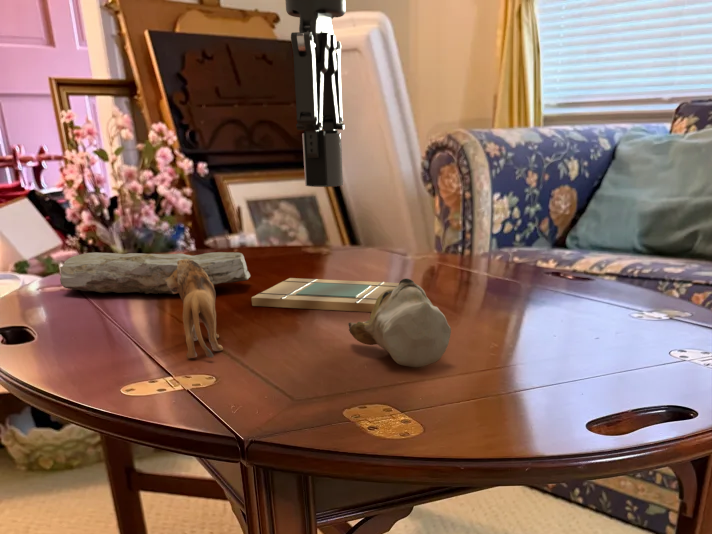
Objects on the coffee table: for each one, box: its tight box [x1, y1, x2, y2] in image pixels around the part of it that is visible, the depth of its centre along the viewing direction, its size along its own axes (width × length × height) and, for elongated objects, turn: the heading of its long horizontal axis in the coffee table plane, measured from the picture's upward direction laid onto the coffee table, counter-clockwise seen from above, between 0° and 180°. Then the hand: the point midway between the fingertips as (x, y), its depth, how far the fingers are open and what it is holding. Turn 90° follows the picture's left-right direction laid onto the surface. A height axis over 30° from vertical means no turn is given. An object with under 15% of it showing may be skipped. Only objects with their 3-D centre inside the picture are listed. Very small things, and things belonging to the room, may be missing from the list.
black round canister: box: [301, 132, 344, 188], centre depth 104 cm, size 5×5×6 cm
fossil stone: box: [59, 251, 251, 295], centre depth 118 cm, size 28×15×5 cm, turn 90°
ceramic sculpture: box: [348, 278, 452, 368], centre depth 84 cm, size 11×9×15 cm
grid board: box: [251, 277, 400, 313], centre depth 114 cm, size 20×16×1 cm
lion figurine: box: [165, 259, 224, 359], centre depth 87 cm, size 15×5×9 cm, turn 22°
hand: (323, 183), depth 106 cm, fingers closed on black round canister, 5 cm apart
